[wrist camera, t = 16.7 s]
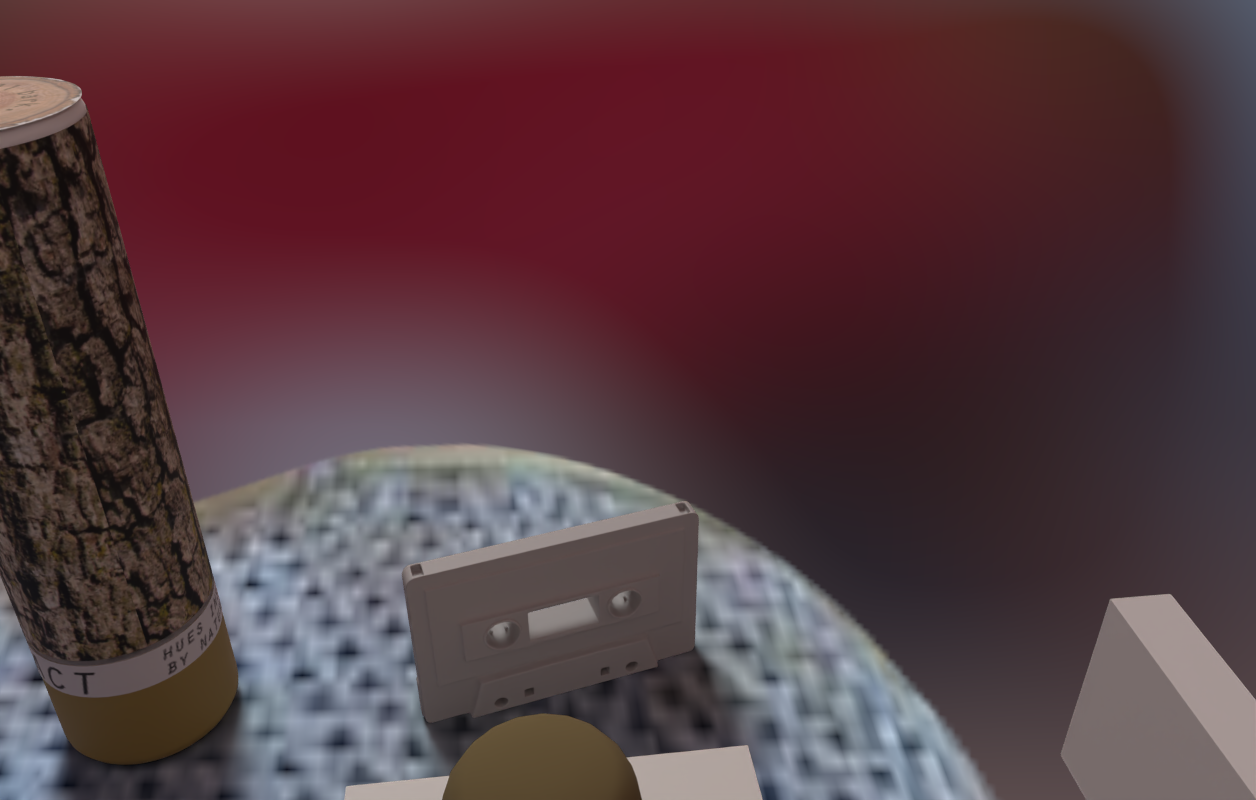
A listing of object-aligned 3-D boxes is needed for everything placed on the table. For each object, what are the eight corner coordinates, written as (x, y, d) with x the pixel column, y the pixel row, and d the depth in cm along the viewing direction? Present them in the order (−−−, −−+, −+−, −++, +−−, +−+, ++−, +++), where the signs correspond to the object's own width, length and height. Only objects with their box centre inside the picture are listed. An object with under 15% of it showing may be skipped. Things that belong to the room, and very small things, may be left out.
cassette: (427, 735, 44) (405, 589, 40) (418, 702, 45) (396, 558, 41) (700, 658, 47) (705, 517, 43) (684, 630, 49) (687, 492, 45)
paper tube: (209, 627, 49) (51, 65, 36) (267, 718, 44) (110, 110, 31) (48, 697, 45) (-192, 101, 32) (93, 804, 41) (-165, 159, 28)
